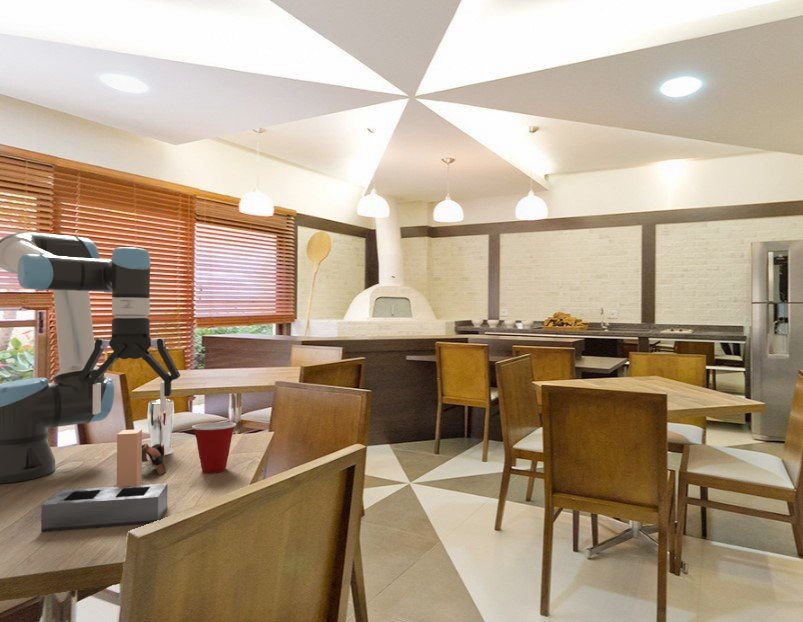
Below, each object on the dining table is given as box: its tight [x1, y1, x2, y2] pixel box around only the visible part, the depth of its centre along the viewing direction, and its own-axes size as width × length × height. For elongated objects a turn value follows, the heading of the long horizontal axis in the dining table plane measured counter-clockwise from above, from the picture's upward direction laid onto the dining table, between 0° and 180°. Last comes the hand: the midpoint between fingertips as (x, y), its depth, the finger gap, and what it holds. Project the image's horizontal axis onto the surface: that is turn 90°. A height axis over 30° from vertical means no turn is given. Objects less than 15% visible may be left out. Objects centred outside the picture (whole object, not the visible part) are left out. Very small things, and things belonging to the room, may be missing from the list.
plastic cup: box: [191, 421, 237, 474], centre depth 132 cm, size 11×11×12 cm
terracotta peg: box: [116, 428, 143, 487], centre depth 114 cm, size 4×4×14 cm
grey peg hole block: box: [40, 482, 168, 533], centre depth 101 cm, size 20×8×5 cm, turn 103°
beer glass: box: [147, 399, 175, 457], centre depth 147 cm, size 7×7×15 cm
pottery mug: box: [142, 443, 167, 476], centre depth 130 cm, size 12×10×8 cm
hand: (130, 412), depth 114 cm, fingers open, 13 cm apart
